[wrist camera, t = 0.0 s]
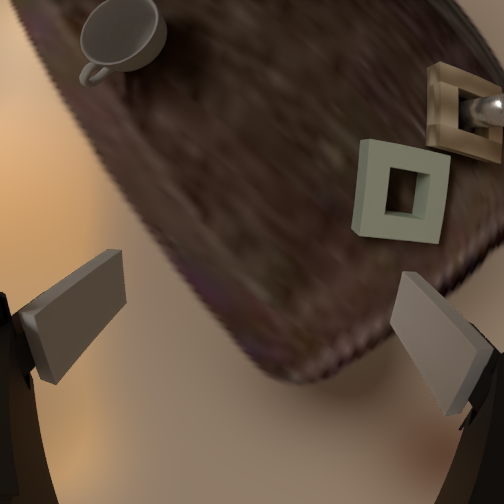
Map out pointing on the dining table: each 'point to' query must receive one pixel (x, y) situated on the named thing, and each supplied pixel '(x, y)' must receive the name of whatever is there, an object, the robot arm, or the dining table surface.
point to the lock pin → (481, 112)
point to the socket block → (376, 186)
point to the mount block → (446, 114)
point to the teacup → (121, 38)
